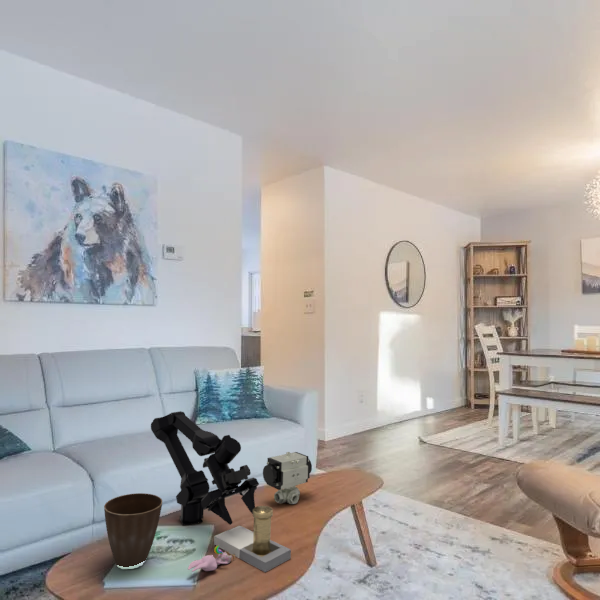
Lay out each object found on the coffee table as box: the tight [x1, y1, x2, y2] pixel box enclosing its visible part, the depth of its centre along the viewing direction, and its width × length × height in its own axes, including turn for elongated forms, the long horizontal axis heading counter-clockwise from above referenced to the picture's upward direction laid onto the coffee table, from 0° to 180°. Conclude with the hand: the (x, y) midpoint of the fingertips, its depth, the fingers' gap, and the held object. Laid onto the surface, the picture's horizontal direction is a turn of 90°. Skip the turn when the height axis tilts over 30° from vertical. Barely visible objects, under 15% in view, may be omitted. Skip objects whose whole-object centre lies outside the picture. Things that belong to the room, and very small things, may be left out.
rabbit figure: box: [187, 545, 236, 572], centre depth 126 cm, size 6×6×15 cm
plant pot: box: [103, 492, 163, 567], centre depth 128 cm, size 15×15×16 cm
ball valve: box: [262, 451, 313, 505], centre depth 174 cm, size 18×8×18 cm, turn 131°
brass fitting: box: [251, 505, 274, 557], centre depth 134 cm, size 6×6×13 cm
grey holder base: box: [213, 525, 292, 573], centre depth 136 cm, size 22×10×2 cm, turn 49°
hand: (243, 519), depth 139 cm, fingers open, 9 cm apart
